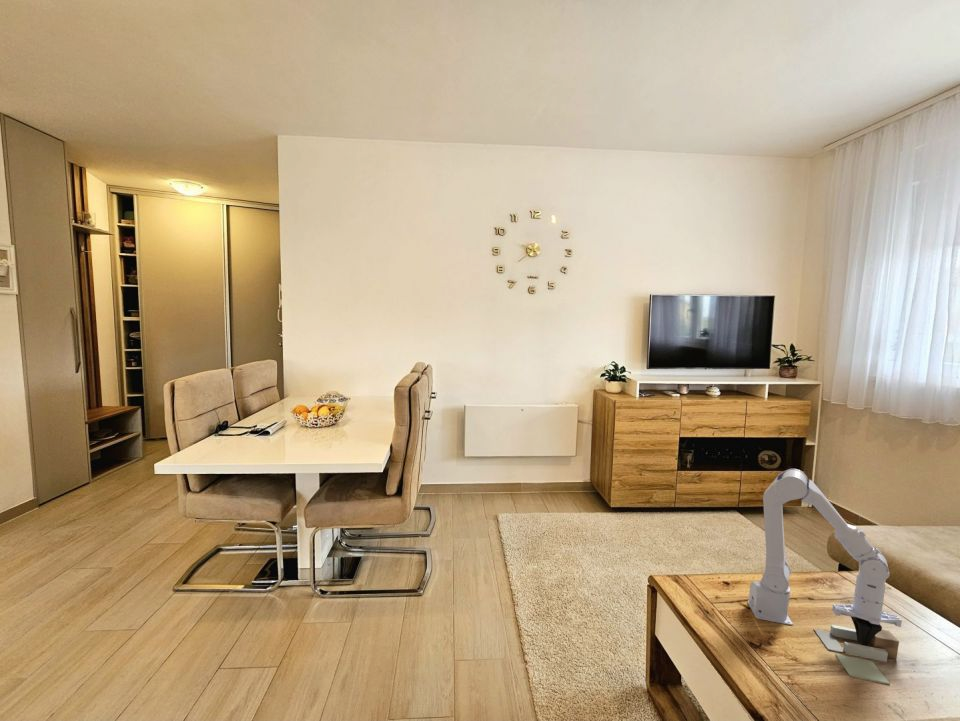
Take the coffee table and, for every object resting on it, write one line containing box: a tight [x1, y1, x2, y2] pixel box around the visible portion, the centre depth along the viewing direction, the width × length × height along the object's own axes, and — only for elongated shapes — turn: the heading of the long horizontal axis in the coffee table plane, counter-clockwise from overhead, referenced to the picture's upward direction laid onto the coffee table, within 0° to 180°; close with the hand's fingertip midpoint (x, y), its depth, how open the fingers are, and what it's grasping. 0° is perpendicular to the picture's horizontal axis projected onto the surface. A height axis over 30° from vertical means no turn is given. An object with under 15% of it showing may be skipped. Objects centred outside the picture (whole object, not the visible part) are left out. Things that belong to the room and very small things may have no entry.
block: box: [868, 629, 900, 660], centre depth 115 cm, size 5×4×5 cm
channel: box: [813, 624, 888, 663], centre depth 117 cm, size 13×8×2 cm, turn 75°
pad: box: [834, 653, 890, 686], centre depth 109 cm, size 8×7×1 cm
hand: (862, 643), depth 116 cm, fingers closed
